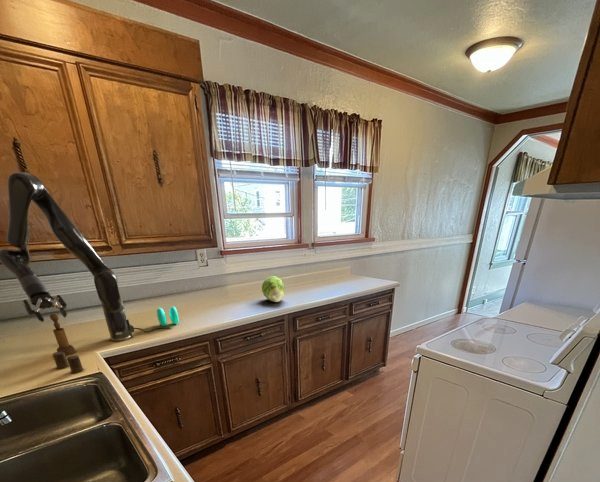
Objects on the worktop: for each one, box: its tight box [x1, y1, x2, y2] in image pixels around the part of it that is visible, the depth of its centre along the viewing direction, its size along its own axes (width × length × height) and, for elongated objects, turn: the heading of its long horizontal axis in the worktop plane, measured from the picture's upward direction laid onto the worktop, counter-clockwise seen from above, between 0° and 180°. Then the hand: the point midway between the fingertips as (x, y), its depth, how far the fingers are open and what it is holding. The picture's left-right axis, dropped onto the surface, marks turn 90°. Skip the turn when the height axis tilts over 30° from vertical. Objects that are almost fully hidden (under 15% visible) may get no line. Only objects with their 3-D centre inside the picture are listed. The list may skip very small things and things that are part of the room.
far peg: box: [66, 354, 84, 374], centre depth 129 cm, size 4×4×6 cm
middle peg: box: [52, 351, 70, 370], centre depth 133 cm, size 4×4×6 cm
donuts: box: [156, 306, 180, 327], centre depth 185 cm, size 10×10×10 cm
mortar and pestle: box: [49, 313, 76, 356], centre depth 144 cm, size 7×6×18 cm
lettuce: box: [261, 275, 286, 303], centre depth 236 cm, size 17×23×16 cm
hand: (54, 318), depth 141 cm, fingers open, 8 cm apart
